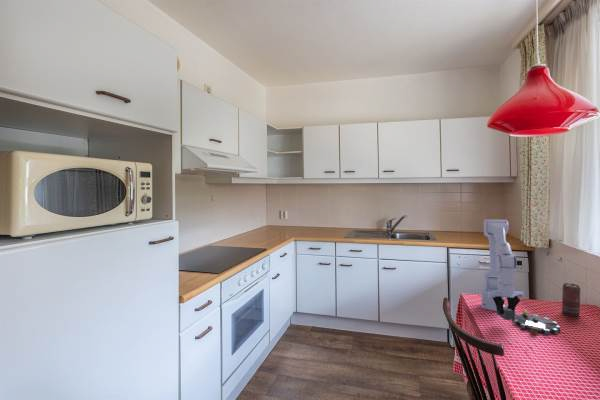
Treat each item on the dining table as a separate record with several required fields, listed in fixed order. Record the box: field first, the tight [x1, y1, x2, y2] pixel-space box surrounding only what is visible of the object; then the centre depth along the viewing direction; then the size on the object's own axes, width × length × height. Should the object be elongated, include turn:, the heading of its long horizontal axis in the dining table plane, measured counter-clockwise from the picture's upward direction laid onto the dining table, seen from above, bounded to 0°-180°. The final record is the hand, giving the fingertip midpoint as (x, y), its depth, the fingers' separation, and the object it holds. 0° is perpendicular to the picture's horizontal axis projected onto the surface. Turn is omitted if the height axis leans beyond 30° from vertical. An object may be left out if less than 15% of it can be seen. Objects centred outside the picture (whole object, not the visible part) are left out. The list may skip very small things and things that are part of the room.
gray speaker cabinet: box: [495, 304, 516, 321], centre depth 131 cm, size 6×4×4 cm, turn 0°
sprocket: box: [512, 309, 561, 335], centre depth 132 cm, size 16×16×4 cm
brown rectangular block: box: [530, 327, 538, 336], centre depth 124 cm, size 2×1×3 cm, turn 50°
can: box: [561, 282, 581, 318], centre depth 141 cm, size 6×6×14 cm
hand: (505, 313), depth 131 cm, fingers closed on gray speaker cabinet, 4 cm apart
